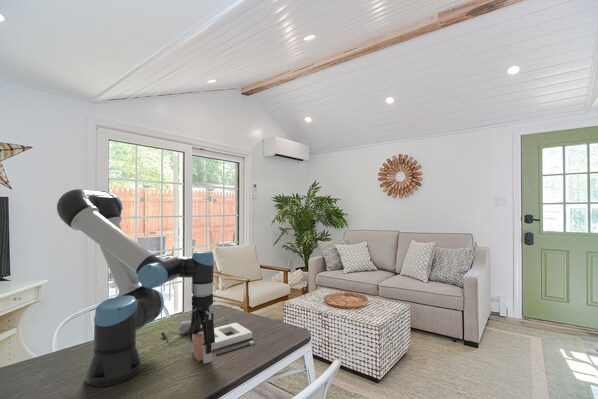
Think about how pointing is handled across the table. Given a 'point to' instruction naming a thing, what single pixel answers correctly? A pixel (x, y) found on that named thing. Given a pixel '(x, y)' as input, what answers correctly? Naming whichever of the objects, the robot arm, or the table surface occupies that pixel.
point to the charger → (198, 346)
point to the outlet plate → (224, 340)
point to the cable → (236, 347)
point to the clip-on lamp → (182, 329)
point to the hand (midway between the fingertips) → (201, 356)
